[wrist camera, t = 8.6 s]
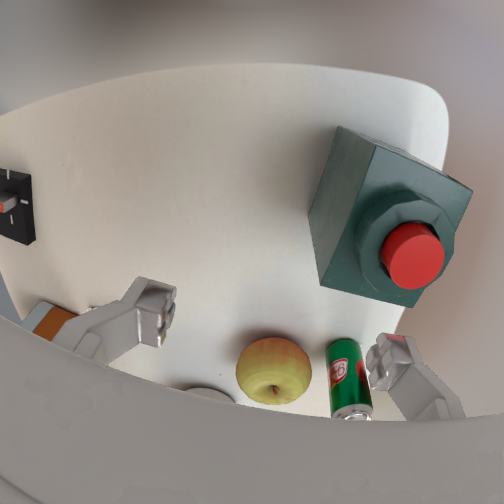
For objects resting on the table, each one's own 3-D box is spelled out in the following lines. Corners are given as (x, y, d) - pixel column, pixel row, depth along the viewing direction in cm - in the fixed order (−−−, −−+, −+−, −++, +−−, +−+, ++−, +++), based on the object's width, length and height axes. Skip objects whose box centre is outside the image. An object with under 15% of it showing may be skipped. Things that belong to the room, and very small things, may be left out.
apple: (310, 324, 38) (314, 372, 31) (309, 371, 42) (311, 415, 35) (235, 326, 39) (226, 373, 32) (245, 372, 44) (238, 415, 37)
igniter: (338, 125, 26) (385, 150, 14) (409, 153, 26) (488, 200, 14) (307, 217, 31) (322, 302, 19) (375, 238, 31) (419, 324, 19)
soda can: (336, 332, 38) (348, 407, 28) (366, 342, 39) (382, 413, 28) (318, 356, 41) (323, 428, 30) (347, 364, 41) (357, 433, 31)
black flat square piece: (-9, 159, 30) (-18, 164, 28) (36, 168, 30) (25, 173, 29) (-3, 224, 35) (-11, 230, 34) (40, 241, 36) (32, 248, 34)
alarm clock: (94, 377, 51) (54, 458, 33) (60, 361, 50) (16, 435, 32) (82, 313, 42) (16, 412, 24) (42, 296, 41) (-26, 381, 23)
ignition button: (396, 214, 16) (407, 226, 14) (441, 231, 16) (454, 245, 14) (372, 266, 18) (379, 282, 16) (417, 279, 18) (426, 294, 16)
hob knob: (2, 199, 31) (-13, 208, 28) (1, 190, 30) (-14, 199, 27) (18, 204, 31) (3, 213, 28) (17, 194, 30) (1, 203, 27)
